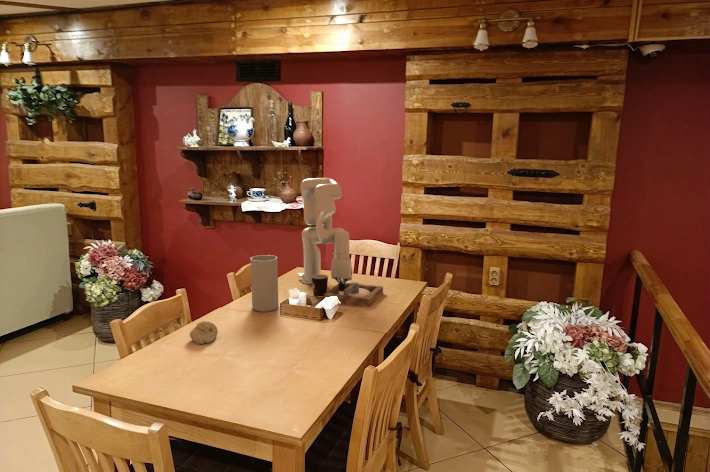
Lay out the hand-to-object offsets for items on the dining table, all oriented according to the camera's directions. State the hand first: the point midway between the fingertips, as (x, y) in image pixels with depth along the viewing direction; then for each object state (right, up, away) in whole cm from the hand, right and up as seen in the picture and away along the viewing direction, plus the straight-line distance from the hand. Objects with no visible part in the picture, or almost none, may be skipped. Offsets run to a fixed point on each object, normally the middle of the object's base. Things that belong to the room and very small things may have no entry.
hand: (341, 290), depth 256 cm
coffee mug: (-12, -3, +11) cm, 16 cm away
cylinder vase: (-37, -7, -12) cm, 39 cm away
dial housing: (+6, -4, +5) cm, 9 cm away
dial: (+5, -3, +2) cm, 6 cm away
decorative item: (-55, -15, -50) cm, 76 cm away
